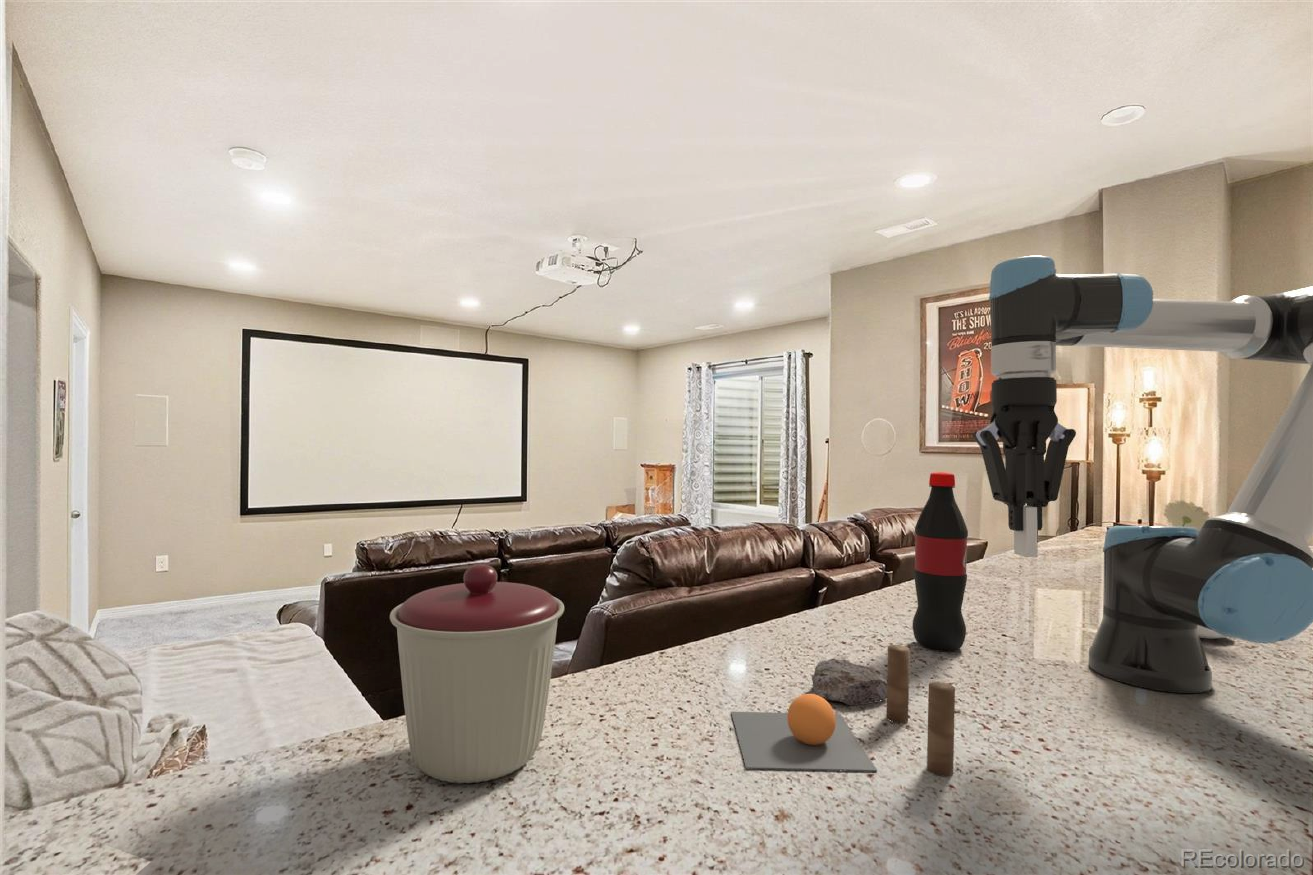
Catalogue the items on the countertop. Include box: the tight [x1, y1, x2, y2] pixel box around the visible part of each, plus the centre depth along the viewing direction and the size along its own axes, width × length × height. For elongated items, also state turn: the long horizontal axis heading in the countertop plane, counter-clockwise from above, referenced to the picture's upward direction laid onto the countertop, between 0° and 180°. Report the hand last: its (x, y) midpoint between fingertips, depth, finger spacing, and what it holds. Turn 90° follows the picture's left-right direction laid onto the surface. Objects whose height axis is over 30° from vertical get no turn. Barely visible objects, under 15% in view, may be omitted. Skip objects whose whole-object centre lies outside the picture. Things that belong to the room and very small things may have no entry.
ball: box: [787, 693, 836, 745], centre depth 76 cm, size 6×6×6 cm
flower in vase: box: [1163, 499, 1228, 640], centre depth 123 cm, size 13×11×25 cm
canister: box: [389, 563, 565, 784], centre depth 71 cm, size 18×18×21 cm
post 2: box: [926, 681, 956, 777], centre depth 70 cm, size 3×3×9 cm
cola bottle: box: [912, 471, 969, 653], centre depth 113 cm, size 8×8×30 cm
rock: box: [811, 658, 887, 706], centre depth 91 cm, size 9×11×4 cm
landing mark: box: [731, 711, 878, 772], centre depth 77 cm, size 14×14×1 cm
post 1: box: [885, 644, 911, 724], centre depth 83 cm, size 3×3×9 cm
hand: (1025, 555), depth 87 cm, fingers closed
